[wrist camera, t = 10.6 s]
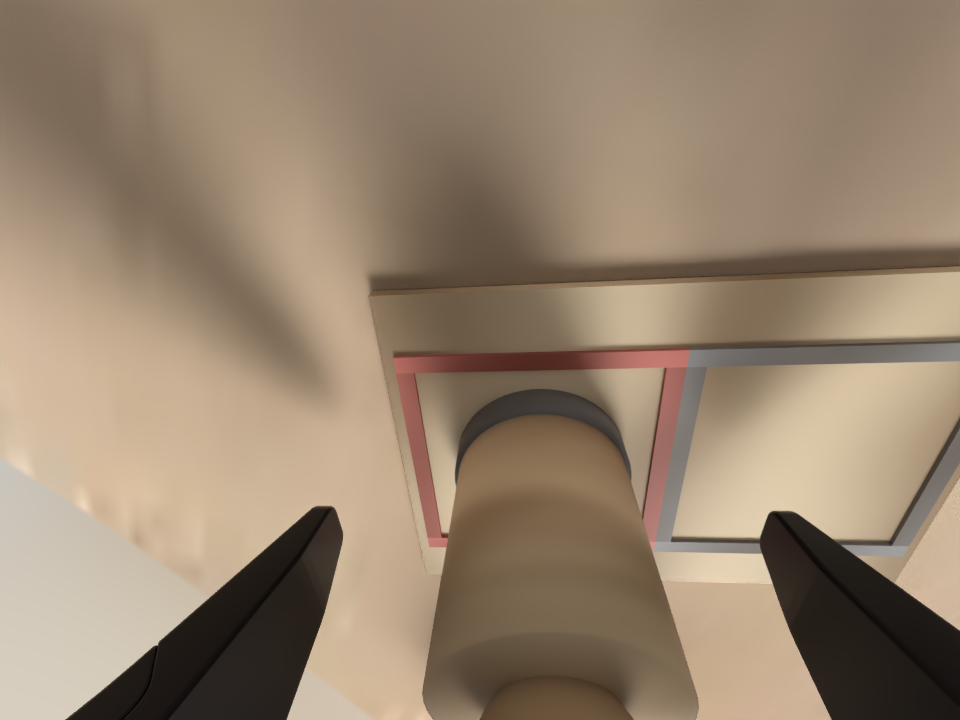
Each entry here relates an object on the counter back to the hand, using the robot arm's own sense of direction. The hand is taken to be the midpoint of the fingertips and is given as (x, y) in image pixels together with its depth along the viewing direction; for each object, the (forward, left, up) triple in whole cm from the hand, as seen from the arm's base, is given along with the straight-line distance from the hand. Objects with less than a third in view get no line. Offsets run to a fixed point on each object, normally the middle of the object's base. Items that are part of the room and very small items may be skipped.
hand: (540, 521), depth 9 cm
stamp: (0, 0, -2) cm, 2 cm away
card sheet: (-3, 0, -2) cm, 4 cm away
